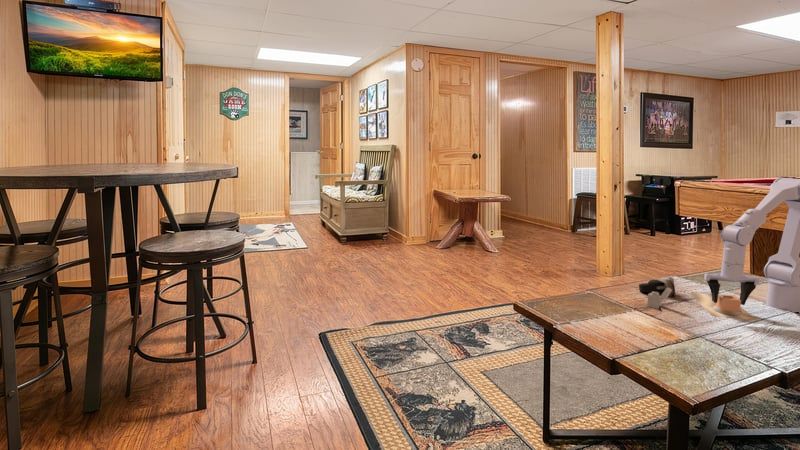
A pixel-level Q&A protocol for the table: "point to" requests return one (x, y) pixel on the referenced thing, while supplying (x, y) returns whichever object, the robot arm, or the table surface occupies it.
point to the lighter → (657, 298)
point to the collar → (728, 303)
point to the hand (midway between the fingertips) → (728, 302)
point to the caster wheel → (658, 286)
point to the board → (715, 311)
